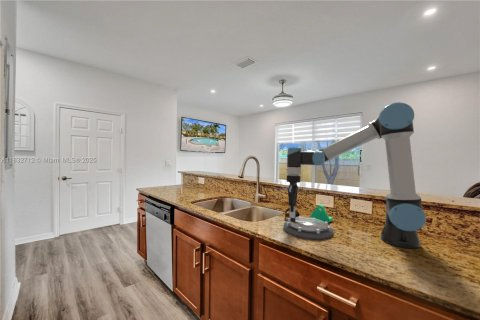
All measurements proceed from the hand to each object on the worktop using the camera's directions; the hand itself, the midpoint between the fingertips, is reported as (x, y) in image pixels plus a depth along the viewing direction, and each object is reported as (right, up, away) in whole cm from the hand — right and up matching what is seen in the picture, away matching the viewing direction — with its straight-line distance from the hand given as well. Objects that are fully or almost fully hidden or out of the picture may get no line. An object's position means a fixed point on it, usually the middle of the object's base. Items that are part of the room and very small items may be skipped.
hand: (292, 217), depth 113 cm
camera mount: (+24, -8, +20) cm, 32 cm away
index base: (+8, -7, 0) cm, 11 cm away
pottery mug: (+6, -7, +23) cm, 25 cm away
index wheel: (+8, -5, 0) cm, 10 cm away
